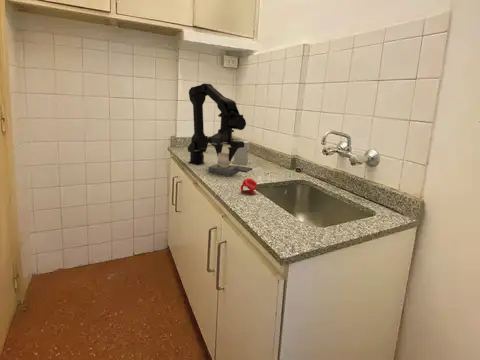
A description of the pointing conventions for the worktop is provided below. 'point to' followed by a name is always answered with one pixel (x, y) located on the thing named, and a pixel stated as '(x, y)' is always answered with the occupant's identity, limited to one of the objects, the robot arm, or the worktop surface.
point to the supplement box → (242, 154)
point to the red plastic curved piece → (249, 185)
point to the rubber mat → (244, 169)
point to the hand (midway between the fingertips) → (224, 159)
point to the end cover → (223, 160)
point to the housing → (223, 170)
